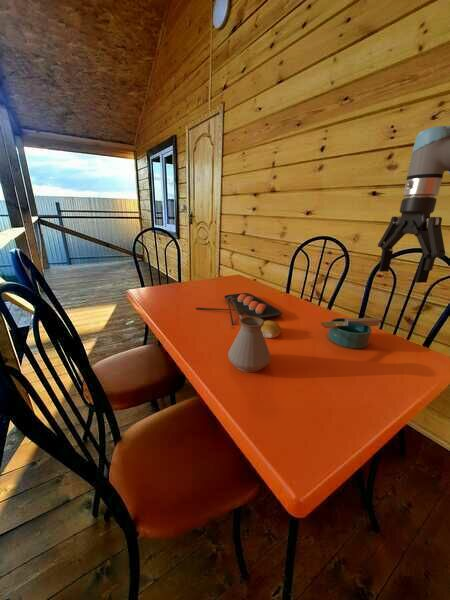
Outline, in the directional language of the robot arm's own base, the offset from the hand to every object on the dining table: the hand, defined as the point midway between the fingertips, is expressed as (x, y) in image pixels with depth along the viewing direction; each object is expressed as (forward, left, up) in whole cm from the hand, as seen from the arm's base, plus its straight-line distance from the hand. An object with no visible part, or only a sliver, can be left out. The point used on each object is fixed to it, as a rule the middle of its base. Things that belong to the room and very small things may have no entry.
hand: (400, 276), depth 74 cm
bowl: (+9, -5, -23) cm, 25 cm away
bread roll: (+34, -12, -23) cm, 43 cm away
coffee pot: (+46, +1, -23) cm, 52 cm away
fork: (+9, -5, -18) cm, 20 cm away
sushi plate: (+42, -34, -23) cm, 59 cm away
